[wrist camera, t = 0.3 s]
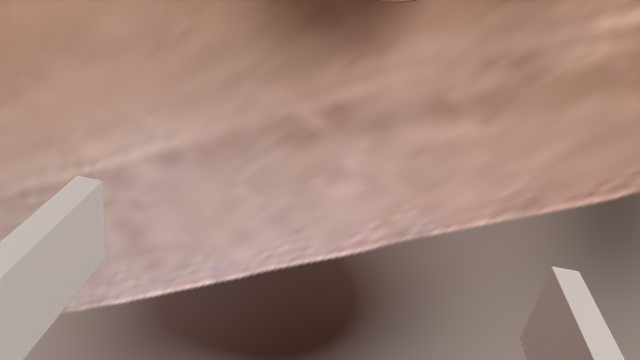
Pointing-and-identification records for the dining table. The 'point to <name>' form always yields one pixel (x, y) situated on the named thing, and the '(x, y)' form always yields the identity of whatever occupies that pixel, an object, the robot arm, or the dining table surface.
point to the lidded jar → (396, 1)
